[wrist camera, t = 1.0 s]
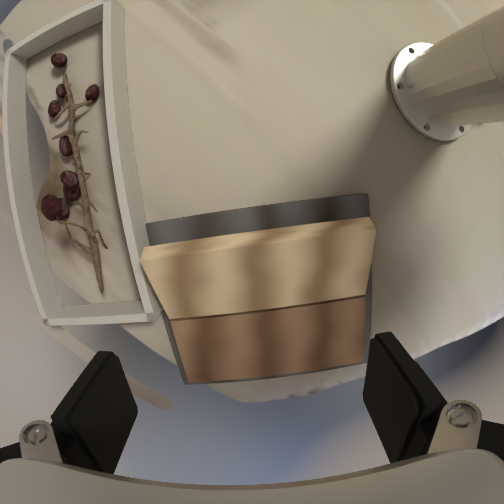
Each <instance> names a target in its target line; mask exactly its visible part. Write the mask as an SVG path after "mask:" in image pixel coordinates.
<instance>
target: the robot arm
mask: <svg viewBox="0 0 504 504" xmlns="http://www.w3.org/2000/svg"><path fill="white" fill-rule="evenodd" d="M390 84H391V90H392V93H393V96H394V99H395V102H396V104H397V106H398V108H399V110H400V111H401V113H402V114H403V116H404V117H405V119H406V120H407V121H408V122H409V123H410V124H411V125H412V126H413V127H414V128H415V129H416V130H417V131H419V132H420V133H422V134H423V135H425V136H427V137H429V138H432V139H434V140H440V141H450V140H454V139H458V138H459V137H461V136H463V135H464V134H465V133H466V132H467V131H468V130H469V128H470V126H471V125H473V124H482V123H492V122H503V121H504V7H502V8H500V9H498V10H496V11H494V12H492V13H490V14H489V15H487V16H485V17H483V18H481V19H479V20H477V21H475V22H473V23H472V24H470V25H468V26H466V27H464V28H462V29H461V30H459V31H457V32H455V33H454V34H452V35H450V36H448V37H447V38H445V39H443V40H441V41H440V42H438V43H436V44H435V45H432V44H429V43H421V42H418V43H412V44H410V45H408V46H406V47H404V48H403V49H402V50H400V51H399V52H398V53H397V55H396V56H395V58H394V60H393V62H392V65H391V69H390ZM397 86H398V87H397ZM398 88H399V89H398ZM424 127H425V129H424ZM363 400H364V403H365V405H366V408H367V410H368V412H369V414H370V417H371V419H372V421H373V424H374V426H375V428H376V430H377V433H378V435H379V437H380V440H381V442H382V444H383V447H384V449H385V451H386V454H387V456H388V459H389V461H390V463H391V464H387V465H384V466H379V467H375V468H372V469H367V470H362V471H357V472H352V473H347V474H342V475H338V476H331V477H326V478H320V479H313V480H305V481H296V482H286V483H275V484H260V485H195V484H180V483H169V482H159V481H151V480H143V479H136V478H130V477H125V476H118V475H114V472H115V469H116V467H117V464H118V461H119V459H120V456H121V453H122V451H123V449H124V446H125V444H126V441H127V439H128V436H129V434H130V431H131V429H132V426H133V424H134V422H135V419H136V417H137V413H138V409H137V405H136V403H135V400H134V398H133V395H132V393H131V390H130V387H129V385H128V382H127V379H126V377H125V374H124V371H123V368H122V366H121V363H120V360H119V357H118V356H116V355H115V354H114V353H113V352H110V351H98V352H97V353H96V355H95V356H94V357H93V359H92V360H91V361H90V363H89V364H88V365H87V367H86V368H85V369H84V371H83V372H82V373H81V375H80V376H79V378H78V379H77V380H76V382H75V383H74V384H73V386H72V387H71V389H70V390H69V391H68V393H67V394H66V396H65V397H64V398H63V400H62V401H61V403H60V404H59V405H58V407H57V408H56V410H55V411H54V413H53V414H52V415H51V419H52V420H53V421H52V423H51V424H49V423H48V422H46V421H44V420H37V421H32V422H30V423H28V424H27V425H25V426H24V427H23V429H22V430H21V432H20V435H19V440H20V442H18V443H15V444H12V445H9V446H6V447H3V448H0V504H504V424H499V423H494V422H489V421H485V420H482V414H481V411H480V409H479V408H478V407H477V406H476V405H475V404H473V403H472V402H469V401H466V400H455V401H452V402H450V403H447V401H446V400H445V399H444V397H443V396H442V395H441V393H440V392H439V391H438V389H437V388H436V387H435V385H434V384H433V383H432V381H431V380H430V379H429V377H428V376H427V375H426V374H425V373H424V371H423V370H422V368H421V367H420V366H419V364H418V363H416V362H415V361H414V360H413V359H412V358H411V356H410V355H409V354H408V352H407V351H406V350H405V349H404V347H403V346H402V345H401V344H400V342H399V341H398V340H397V338H396V337H395V336H394V335H393V333H392V332H385V333H379V334H376V335H375V337H374V338H373V339H371V340H370V346H369V355H368V362H367V370H366V377H365V384H364V390H363Z"/></svg>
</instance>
